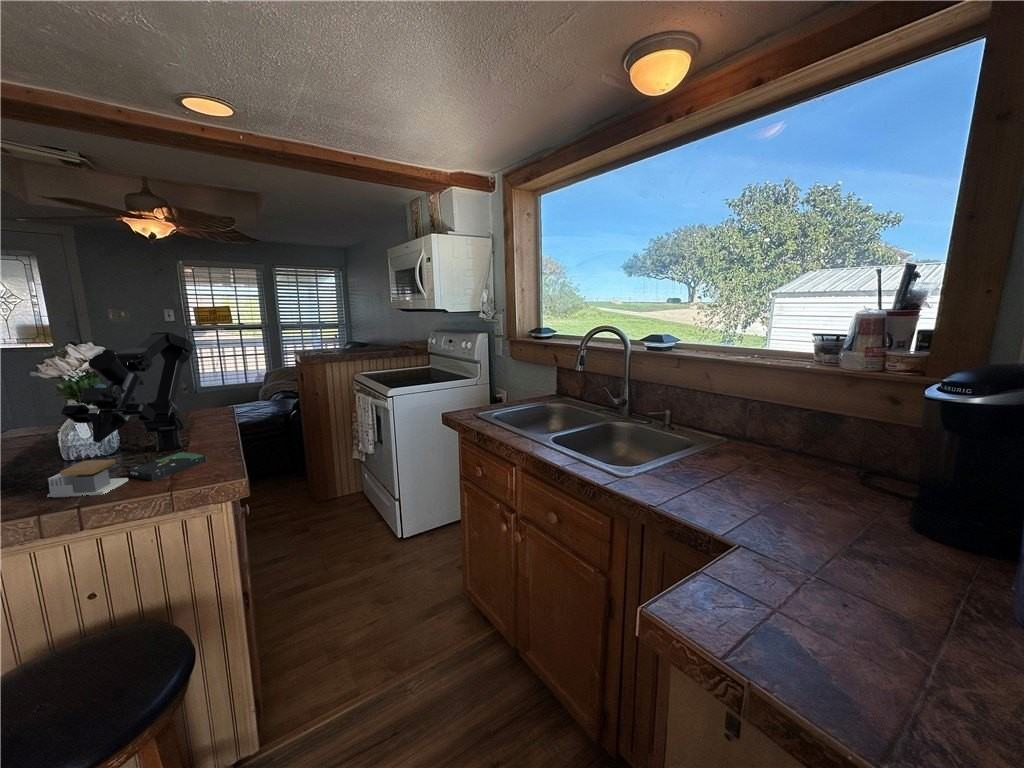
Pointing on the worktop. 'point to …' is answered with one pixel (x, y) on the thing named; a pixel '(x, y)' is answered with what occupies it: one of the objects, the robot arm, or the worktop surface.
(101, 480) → the heat sink board
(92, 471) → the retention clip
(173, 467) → the disk drive
